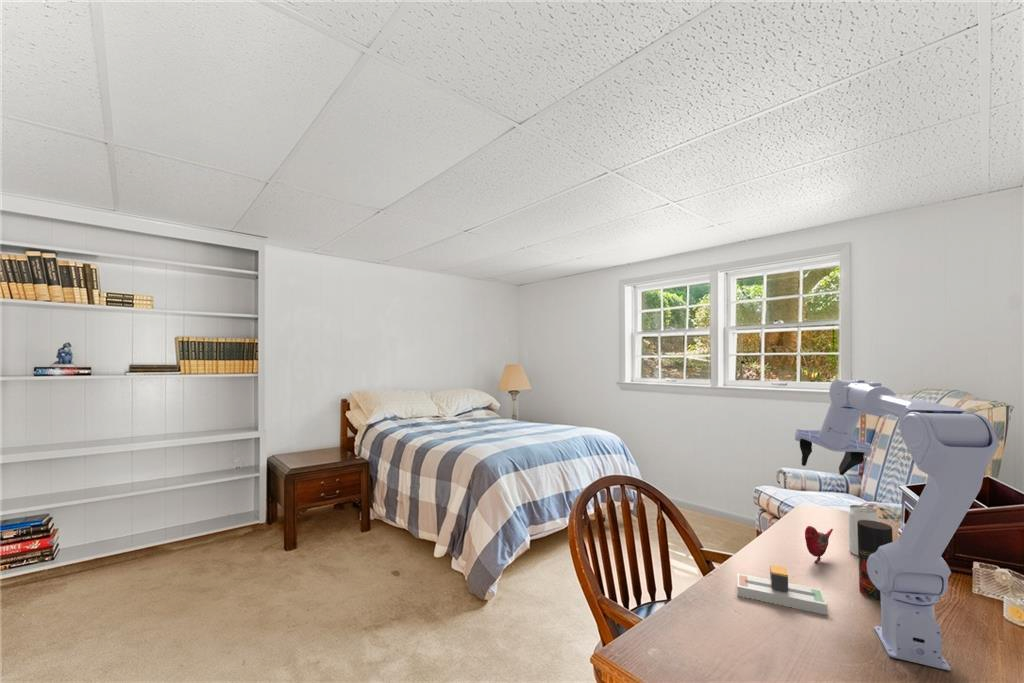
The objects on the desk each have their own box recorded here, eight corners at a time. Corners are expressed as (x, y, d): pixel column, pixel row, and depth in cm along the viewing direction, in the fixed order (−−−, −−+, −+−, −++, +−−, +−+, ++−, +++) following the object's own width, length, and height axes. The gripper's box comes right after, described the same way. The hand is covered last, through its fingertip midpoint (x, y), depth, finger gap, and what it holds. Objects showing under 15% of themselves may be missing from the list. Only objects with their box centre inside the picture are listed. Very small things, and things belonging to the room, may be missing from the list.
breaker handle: (788, 591, 94) (787, 575, 94) (771, 588, 95) (771, 572, 95) (786, 583, 97) (786, 567, 97) (770, 580, 98) (770, 564, 99)
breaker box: (827, 615, 89) (827, 604, 89) (737, 596, 96) (737, 586, 96) (821, 598, 95) (821, 588, 96) (737, 582, 103) (737, 572, 103)
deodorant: (901, 603, 94) (898, 530, 94) (869, 600, 95) (866, 528, 96) (884, 589, 100) (881, 521, 100) (853, 587, 101) (851, 519, 101)
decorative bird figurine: (800, 568, 110) (799, 526, 110) (826, 550, 121) (825, 512, 121) (813, 572, 108) (812, 530, 108) (839, 554, 118) (838, 515, 119)
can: (878, 553, 119) (876, 507, 120) (882, 562, 114) (880, 513, 114) (848, 547, 123) (846, 503, 123) (850, 556, 117) (848, 509, 118)
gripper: (875, 421, 101) (856, 463, 108) (800, 406, 107) (786, 447, 114) (881, 443, 95) (860, 485, 103) (802, 426, 101) (787, 467, 109)
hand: (821, 467), depth 108 cm, fingers open, 7 cm apart
